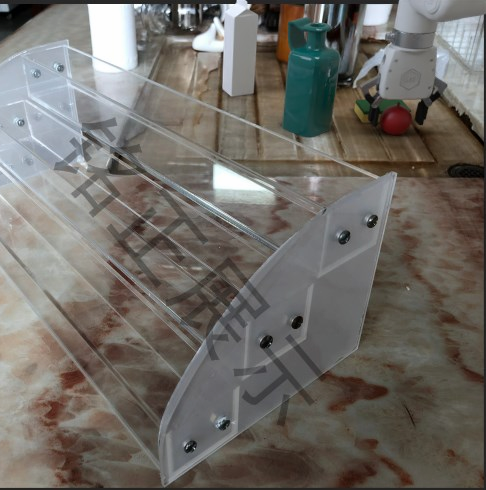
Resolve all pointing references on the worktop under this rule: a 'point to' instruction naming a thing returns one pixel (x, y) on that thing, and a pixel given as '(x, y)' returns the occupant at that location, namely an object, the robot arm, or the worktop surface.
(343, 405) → the worktop surface
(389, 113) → the apple
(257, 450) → the worktop surface
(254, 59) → the milk
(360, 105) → the sponge
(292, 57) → the pitcher
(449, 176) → the worktop surface
